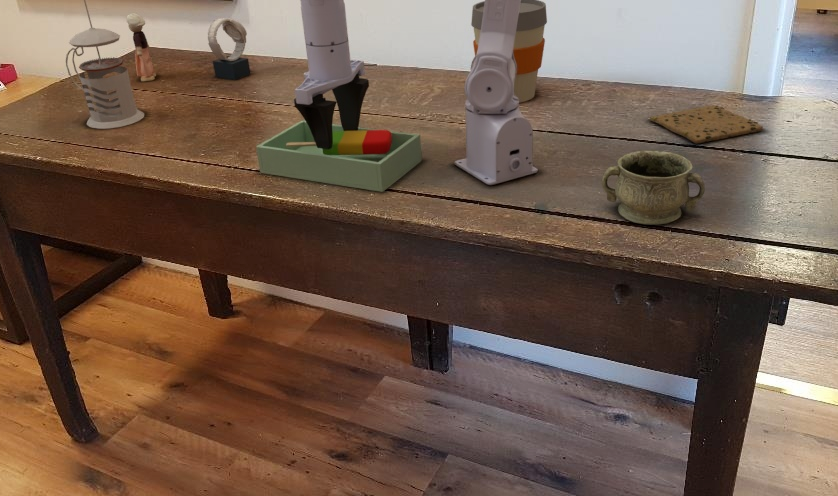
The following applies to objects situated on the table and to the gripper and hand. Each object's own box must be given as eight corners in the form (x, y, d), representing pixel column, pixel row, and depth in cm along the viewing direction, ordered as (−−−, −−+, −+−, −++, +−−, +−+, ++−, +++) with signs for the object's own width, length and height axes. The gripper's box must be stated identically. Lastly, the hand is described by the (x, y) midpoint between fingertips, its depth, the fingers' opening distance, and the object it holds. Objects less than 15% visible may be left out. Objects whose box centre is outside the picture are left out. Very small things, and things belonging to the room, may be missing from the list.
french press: (121, 130, 134) (79, -28, 121) (65, 126, 138) (19, -29, 125) (155, 111, 142) (120, -39, 129) (102, 108, 146) (62, -39, 133)
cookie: (712, 107, 128) (713, 101, 127) (764, 130, 118) (765, 124, 118) (647, 119, 125) (648, 113, 124) (695, 144, 115) (696, 137, 114)
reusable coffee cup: (543, 106, 133) (546, 13, 125) (468, 106, 135) (466, 14, 127) (546, 84, 144) (548, -4, 136) (476, 84, 146) (475, -2, 138)
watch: (257, 71, 161) (248, 15, 156) (228, 82, 156) (218, 24, 150) (237, 68, 164) (228, 13, 158) (208, 79, 159) (197, 21, 153)
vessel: (593, 221, 96) (597, 172, 93) (606, 192, 103) (609, 145, 100) (698, 232, 92) (705, 182, 89) (703, 201, 99) (710, 153, 96)
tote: (421, 161, 116) (420, 134, 113) (382, 192, 107) (380, 164, 105) (305, 145, 124) (302, 120, 122) (260, 172, 115) (255, 146, 113)
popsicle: (389, 155, 111) (388, 141, 110) (283, 157, 112) (281, 144, 111) (393, 141, 115) (392, 128, 114) (291, 144, 117) (289, 131, 116)
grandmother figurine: (138, 75, 164) (122, 11, 157) (157, 72, 165) (142, 8, 158) (138, 85, 158) (122, 18, 151) (158, 82, 158) (143, 16, 152)
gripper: (330, 26, 113) (340, 119, 120) (270, 53, 102) (285, 153, 109) (373, 29, 110) (381, 124, 117) (316, 56, 99) (328, 159, 106)
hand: (338, 139), depth 113 cm, fingers closed on popsicle, 6 cm apart
